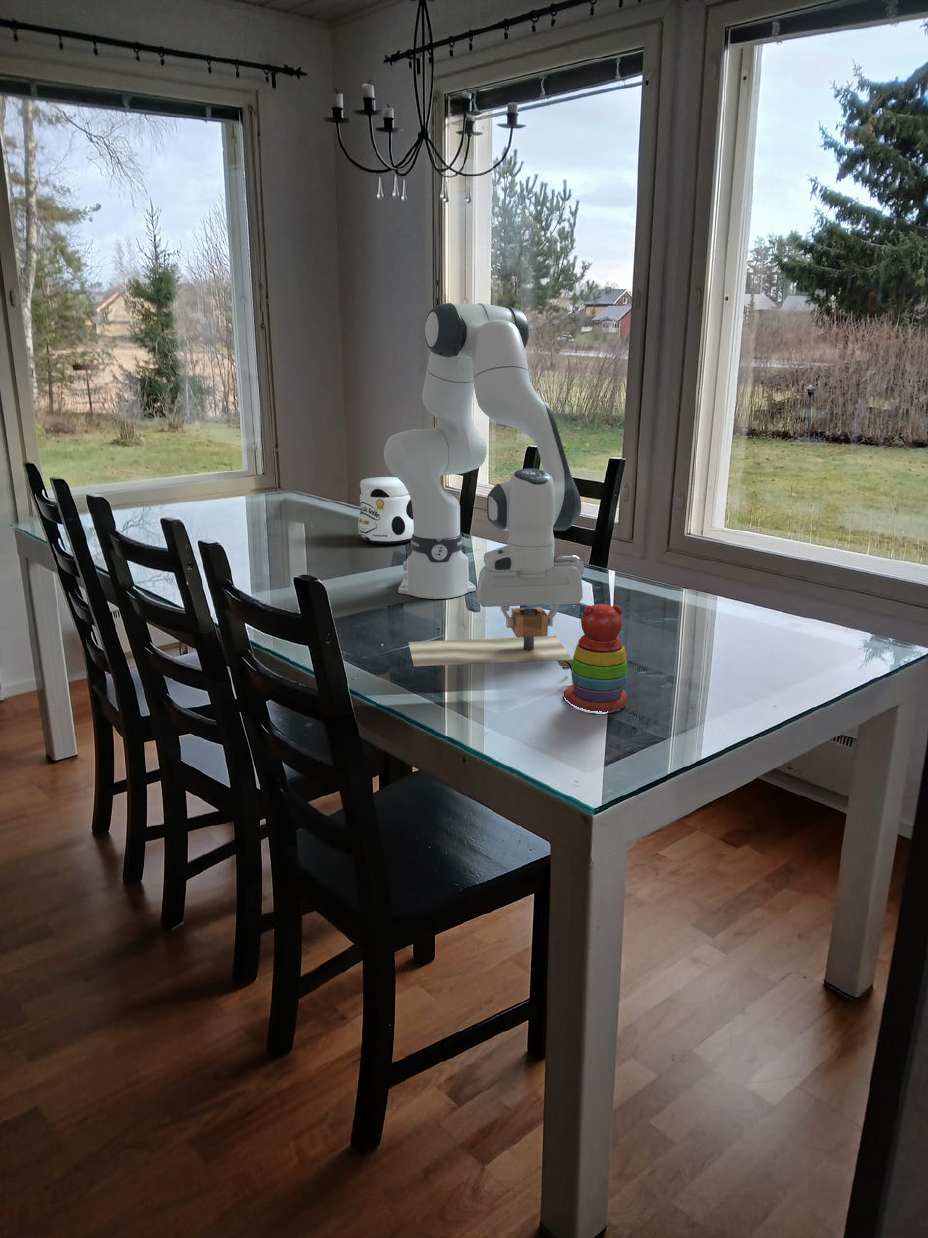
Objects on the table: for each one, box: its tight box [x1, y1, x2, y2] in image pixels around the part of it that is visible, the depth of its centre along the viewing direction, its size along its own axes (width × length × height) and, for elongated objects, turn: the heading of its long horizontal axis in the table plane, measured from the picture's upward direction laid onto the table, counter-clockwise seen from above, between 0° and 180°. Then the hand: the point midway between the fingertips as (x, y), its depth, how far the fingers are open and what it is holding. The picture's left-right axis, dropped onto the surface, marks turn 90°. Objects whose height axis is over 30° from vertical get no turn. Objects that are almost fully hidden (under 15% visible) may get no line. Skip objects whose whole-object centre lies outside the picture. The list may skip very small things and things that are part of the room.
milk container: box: [357, 476, 414, 545], centre depth 278 cm, size 17×17×18 cm
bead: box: [510, 606, 549, 638], centre depth 182 cm, size 6×6×4 cm
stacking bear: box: [563, 603, 628, 712], centre depth 158 cm, size 11×10×18 cm
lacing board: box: [407, 607, 573, 667], centre depth 182 cm, size 14×30×10 cm, turn 97°
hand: (529, 626), depth 182 cm, fingers closed on bead, 6 cm apart
